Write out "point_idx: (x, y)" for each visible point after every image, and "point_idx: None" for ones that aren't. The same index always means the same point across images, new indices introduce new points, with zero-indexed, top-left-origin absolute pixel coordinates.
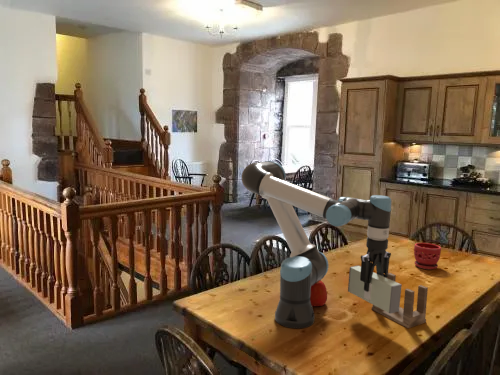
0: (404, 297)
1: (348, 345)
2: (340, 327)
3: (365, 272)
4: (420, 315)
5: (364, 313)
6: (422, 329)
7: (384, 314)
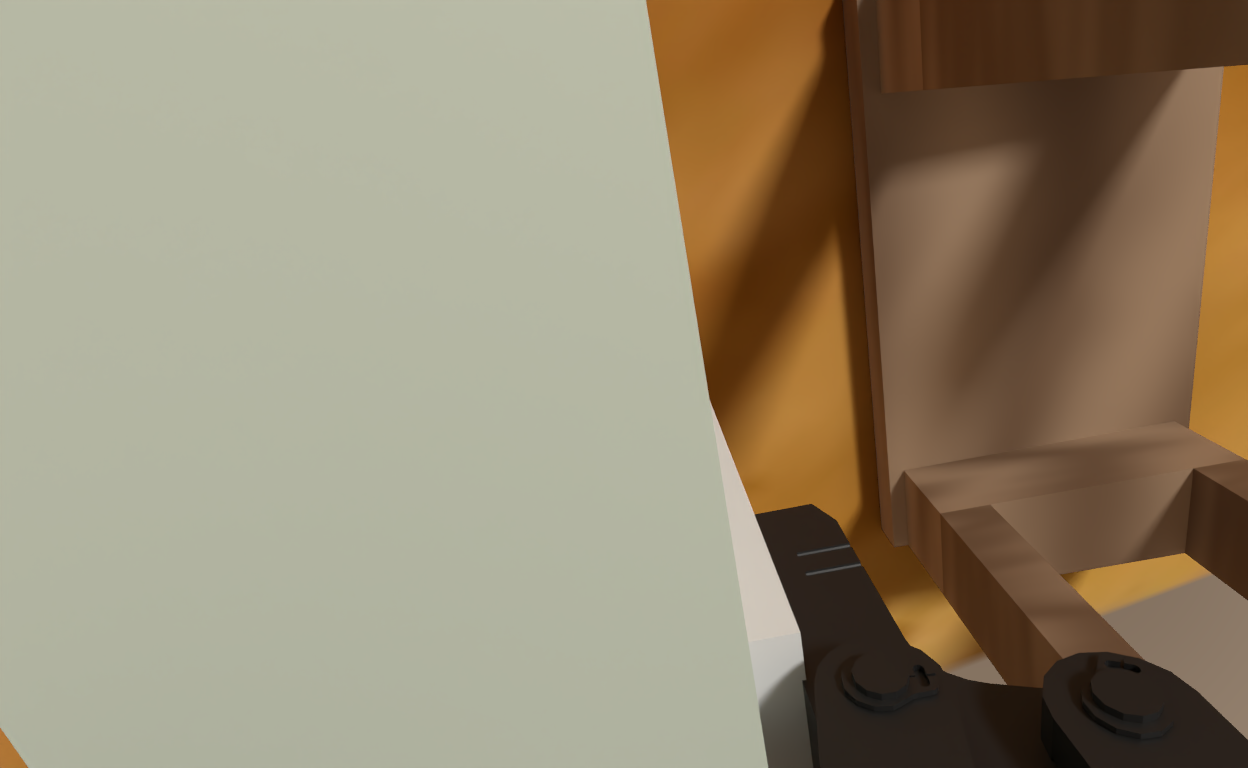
0: None
1: None
2: None
3: None
4: (1126, 552)
5: (664, 68)
6: None
7: (866, 224)
